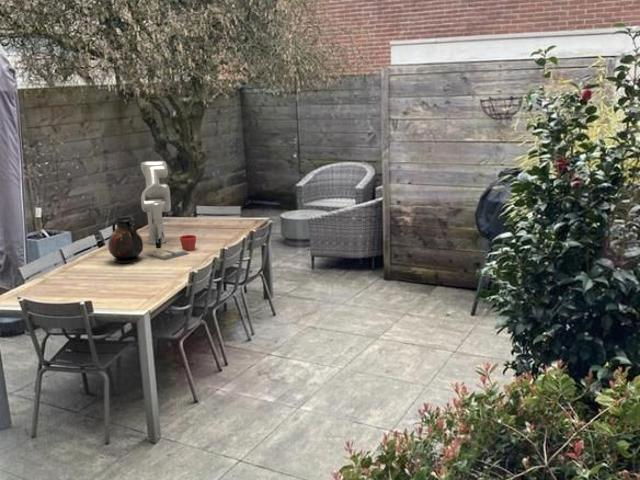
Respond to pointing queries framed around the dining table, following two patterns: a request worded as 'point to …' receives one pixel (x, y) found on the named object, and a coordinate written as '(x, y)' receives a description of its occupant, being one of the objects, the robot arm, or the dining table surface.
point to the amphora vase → (125, 241)
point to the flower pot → (188, 242)
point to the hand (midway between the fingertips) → (158, 248)
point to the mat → (168, 257)
